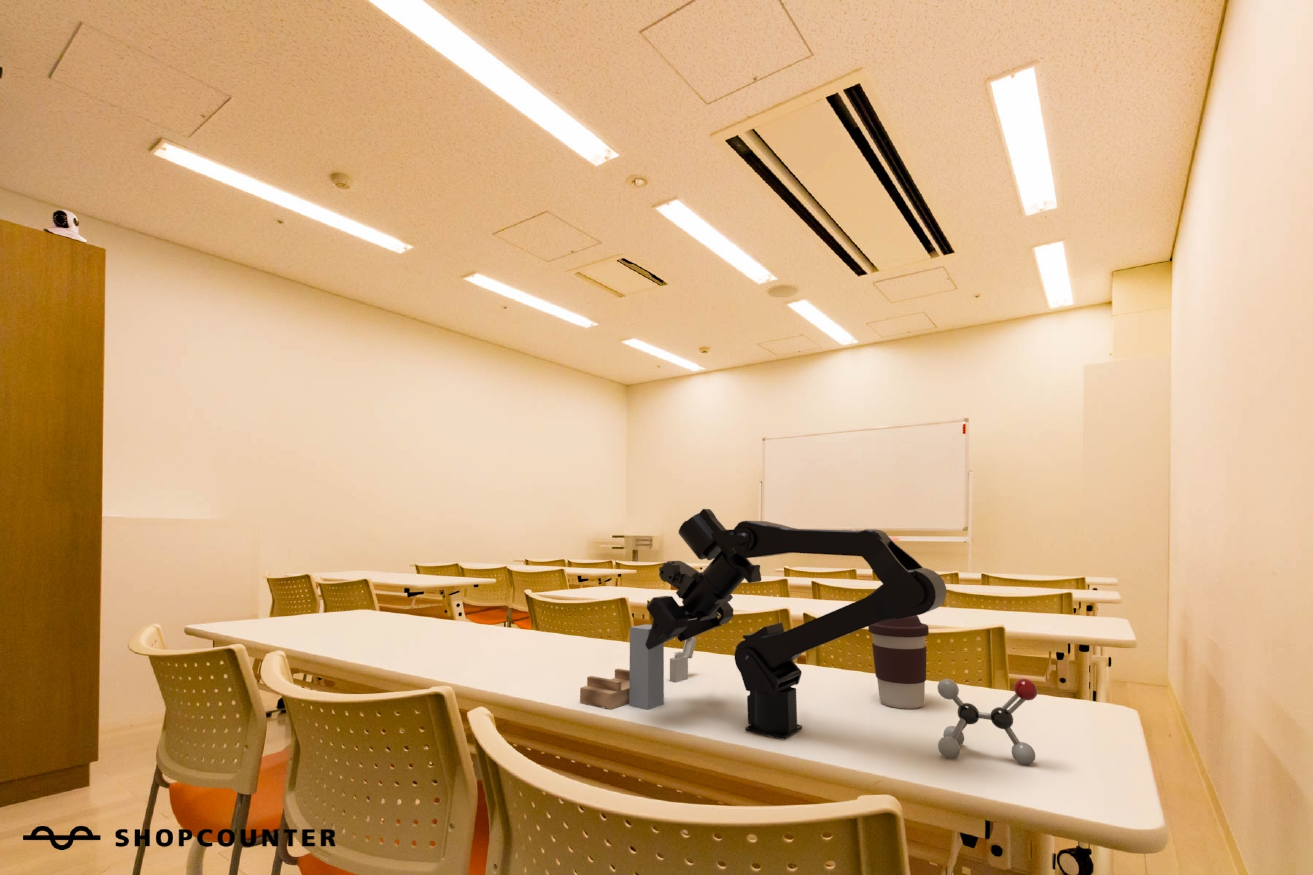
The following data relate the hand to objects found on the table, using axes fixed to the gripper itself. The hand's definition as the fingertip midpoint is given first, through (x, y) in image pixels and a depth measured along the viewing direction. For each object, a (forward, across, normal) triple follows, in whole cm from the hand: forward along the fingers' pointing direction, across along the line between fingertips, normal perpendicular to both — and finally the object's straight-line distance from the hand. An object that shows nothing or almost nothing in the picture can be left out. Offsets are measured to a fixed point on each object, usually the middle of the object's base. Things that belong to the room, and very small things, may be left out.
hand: (663, 643), depth 108 cm
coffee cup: (-15, -27, +30) cm, 43 cm away
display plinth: (+15, 0, 0) cm, 15 cm away
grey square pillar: (+10, 0, +5) cm, 11 cm away
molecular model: (-27, -7, +42) cm, 50 cm away
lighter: (+14, -20, +1) cm, 25 cm away
